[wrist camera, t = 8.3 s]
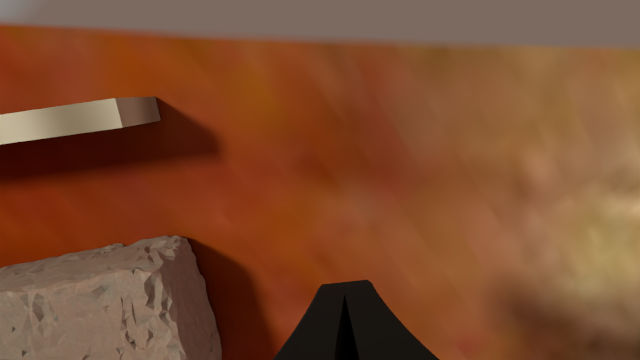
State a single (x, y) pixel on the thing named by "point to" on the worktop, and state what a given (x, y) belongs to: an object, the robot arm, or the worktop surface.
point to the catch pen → (77, 118)
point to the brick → (109, 305)
